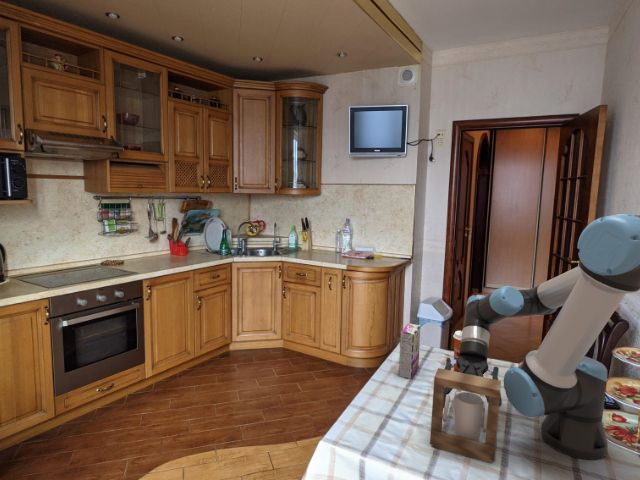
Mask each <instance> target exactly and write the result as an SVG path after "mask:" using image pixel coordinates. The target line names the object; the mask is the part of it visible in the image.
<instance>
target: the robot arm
mask: <svg viewBox="0 0 640 480" xmlns="http://www.w3.org/2000/svg"><path fill="white" fill-rule="evenodd" d="M577 249H578V253H577V254H578V259H579V261H578V264H577V266H575V267H574V268H572V269H570V270H568V271H565V272H564V273H562V274H560V275H557V276H555V277H552V278H551V279H549V280H547V281H544V282H542V283H540V284H538V285H537V286H534V287H532V288H528V289H527V288H526V289H517V288H515V287H513V286H511V285H505V286H502V287H500V288H496V289H495V290H494V291H492V292H491V293H489V294H488V295H487V296H486V295H483V294H476V295H474V294H473V295H471V296H469V297H468V299H467V302H466V305H465V309H464V311H465V312H464V317H463V325H462V330H461V331H462V338H461V345H460V351H459V357H458V358H457V360H454V359H451V358H450V357H446V359H445V367H444V368H443V369H445V370H450V371H452V368H453V369H454V365H457V366H458V368H459V370H458V371H457V372H460V373H465V374H470V375H475V376H480V377H485V376H484V375H485V373H487V372H489V375H490V376H492V377H491V379H495V380H499V378H498V376H499V367H498V366H494V367H492V366H490V365H489V363H488V358H489V357H488V355H489V346H490V336H491V327H492V325H494V324H496V323H498V322H500V321H501V320H504V319H507V318H519V317H530V316H546V315H549V314H553V313H555V312H557V310H558V308H560V307H561V309H560V311H559V312H558V314H557V315H556V317H555V320H554V321H553V323H552V325H551V326H550V328H549V329H548V332H547V333H546V335H545V336H544V339H543V340H542V342H541V344H540V346H539V347H538V349H537V350H536V349H534V350H531V351H529V352H528V353H527V354H526V355H525V357H524V359H523V361H521V362H522V364H521V366H519V365H518V366H519V367H517V366H513V367H511V368H509V369H507V371H505V373H504V376H503V389H504V392H505V395H506V397H507V399H508V401H509V403H510V404H511V406H512V407H513V408H514V410H516V412H517V413H519V414H520V415H522V416H524V417H527V418H528V417H529V418H533V417H534V418H535V417H536V418H540V417H544V416H545V417H544V419H543V420H542V423H541V425H540V431H539V432H540V437H541V438H542V440H543V441H544V442H545V443H546V444H547V445H549V446H550V447H551V448H552V449H554V450H556V451H559V452H560V453H563V454H564V455H568V456H571V457H574V458H577V459H578V458H579V459H583V460H591V461H592V460H601V459H603V458H605V457H606V456H607V454H608V446H609V443H608V439H607V435H606V432H605V428H604V424H603V415H604V408H605V401H606V400H605V399H606V391H607V385H608V382H609V381H608V369H607V367H606V366H605V365H604V364H603V363H602V362H600V361H598V360H595V359H594V358H591V357H589V356H586V355H587V353H588V352H589V350H591V347H592V346H593V345H594V343H595V342H596V340H597V339H598V337H599V335H600V334H601V332H602V331H603V330H604V328H605V326H606V325H607V323H608V322H609V320H610V319H611V317H612V316H613V314H614V313H615V311H616V309H617V308H618V306H619V305H620V303H621V302H622V300H623V298H624V297H625V296H626V295H627V294H634V293H638V292H639V291H640V215H635V214H630V213H629V214H627V213H619V214H618V213H617V214H614V215H606V216H602V217H598V218H596V219H595V220H593V221H592V222H590V223H589V224H587V225H586V227H585V228H584V229H583V230H582V232H581V234H580V236H579V238H578V241H577ZM453 390H454V389H453V388H448V387H445V390H444V405H443V419H442V423H447V418H448V414H449V409H450V408H449V406H450V399H451V397H450V396H451V395H450V393H451V392H452V391H453ZM484 397H485V399H486V402H485V409H484V417H483V418H484V419H483V425H482V426H483V429H482V432H483V433H486V426H487V414H488V402H489V396H485V395H484ZM502 403H503V400H502V394H501V392H500V402H499V408H500V407H502ZM605 455H606V456H605ZM604 456H605V457H604Z"/></svg>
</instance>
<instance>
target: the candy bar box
mask: <svg viewBox="0 0 640 480" xmlns="http://www.w3.org/2000/svg"><path fill="white" fill-rule="evenodd" d="M420 339H421V325H420V324H414V323H407V324H406V326H405V327H403V329H402V330H401V331H400V340H399V360H398V362H399V363H398V377H401V378H403V377H404V378H405V379H410V380H413V378H414V376H415V374H416V373H417V371H418V369H419V365H420V364H419V363H420V345H421V343H420V342H421V340H420Z"/></svg>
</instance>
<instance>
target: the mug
mask: <svg viewBox="0 0 640 480" xmlns="http://www.w3.org/2000/svg"><path fill="white" fill-rule="evenodd" d="M484 401H485V400H484V398H483V397H482V395H480V394H476V393H471V392H467V391H456V392H455V394H454V397H453V399H452V413H453V421H454V429H453V430H454V431H453V433H454V434H453V435H455V436H459V437H463V438H467V439H471V440H475V441H478V442H480V440H481V430H482V423H483V422H482V421H483V413H484V403H485V402H484Z"/></svg>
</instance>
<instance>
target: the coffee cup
mask: <svg viewBox="0 0 640 480" xmlns="http://www.w3.org/2000/svg"><path fill="white" fill-rule="evenodd" d="M452 336H453V360H457V358H458V357H459V351H460V345H461V338H462V330H456V331H455V332H454V334H453V335H452ZM458 370H459V368H458V366H457V365H454V367H453V371H455V372H457V371H458Z"/></svg>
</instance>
